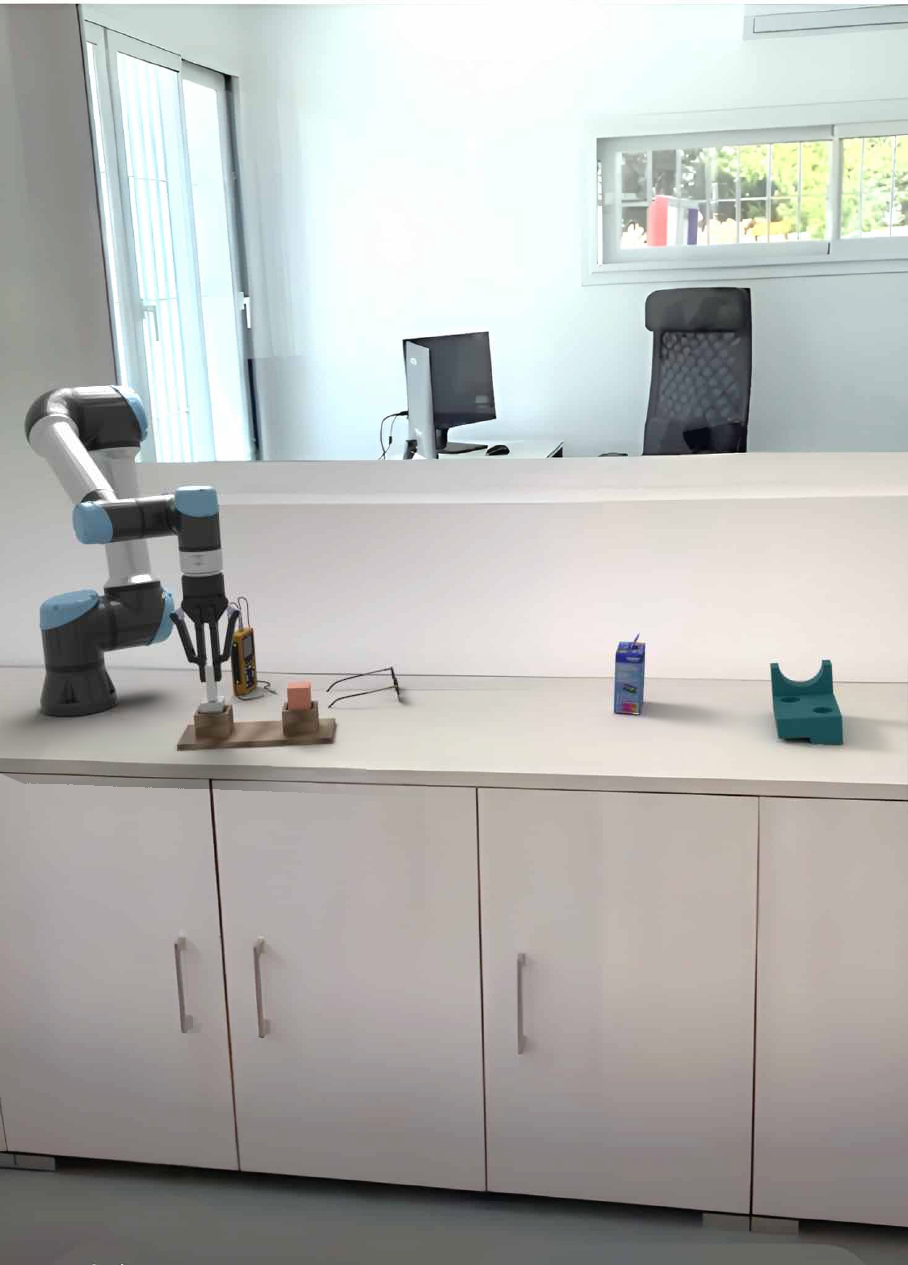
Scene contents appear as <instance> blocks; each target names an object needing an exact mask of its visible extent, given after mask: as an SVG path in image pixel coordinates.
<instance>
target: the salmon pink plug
mask: <svg viewBox="0 0 908 1265" xmlns="http://www.w3.org/2000/svg"><path fill="white" fill-rule="evenodd" d="M311 689H312V687H311V681H304V682H303V681H297V682H294V681H293V682H288V685H287V687H286V696H287V702H288V710H305V709H312V702H311V701H312V690H311Z"/></svg>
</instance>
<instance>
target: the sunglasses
mask: <svg viewBox="0 0 908 1265" xmlns="http://www.w3.org/2000/svg"><path fill="white" fill-rule="evenodd" d="M386 671H390V674H391V678H392V679H391V680H392V681H393V685H390V686H388V687H384V688H379V689H375V690H371V691H366V692H361V693H356V694H350V695H347V696H345V695H344V696H341V697H338V698H336V699H335V700H334V701H332V703H330V704H329V706H327V708H331V707H332V706H333V705H334V704H335V703H336V702H338V701H340V700H343V699H344V700H345V699H349V698H353V697H358V696H362V695H369V694H372V693H377V692H381V691H385V690H390V689H394V690H395V692H396V695H397V699H398V702H399V703H400V702H401V701H400V689H399V682H398V678H397V677H396V674H395V670H394V666H390V667H387V668H383V669H379V670H374V671H371V672H367V673H362V674H358V675H354V676H353V675H352V676H350V677H346V678H343V679H340V680H339V679H338V680H337V681H335V682H333V683H332V684H331V685H330V686H329V688H327V690H326V691H325V692H326V693H328V692H329V691H330V690H331V689H332V688H333V687H334V686H335V685H336V684H338V683H341V682H344V681H347V680H351V679H355V678H359V677H364V676H367V675H371V674H376V673H379V672H386Z"/></svg>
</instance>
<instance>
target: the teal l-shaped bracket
mask: <svg viewBox="0 0 908 1265" xmlns="http://www.w3.org/2000/svg"><path fill="white" fill-rule="evenodd" d="M779 665H780V664H779V663H778V662H772V663H771V662H770V664H769V667H770V680H771V681H770V682H771V684H770V685H771V694H772V695H771V696H772V697H771V698H772V709H773V716H774V722H775V727H776V728H775V729H776V732H777V737H778V738H777V739H781V740H782V739H800V738H801V739H802V738H804V739H805V738H808V739H809V738H810V739H809V741H810V742H811V743H813V744H812V745H818V744H824V745H841V744H844V731H843V729H844V728H843V716H842V712H841V710H840V707H839V704H838V702H837V699H836V696H835V694H834V680H833V677H834V676H833V663H832V661H831V659H822V660H821V666H820V668H819V670H818V672H817V673H816V675H814V676H813V677H811V678H810V679H808V680H804V681H796V680H791V679H790V678H788V677H787V676H785V675H784V674H783V673H782V671H781V669H780V666H779ZM811 743H810V744H811Z"/></svg>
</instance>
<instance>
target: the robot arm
mask: <svg viewBox="0 0 908 1265" xmlns="http://www.w3.org/2000/svg"><path fill="white" fill-rule="evenodd" d="M23 426H24V434H25V437H26V441H27V443H28V444H29V446H30V447H31V449H32V450H33V452H34V453H35V454H36V455H38V456H39V457H41V458H44V460H45V462H46V463H47V465H48V466H49V467H50V470H51V471H52V472H53V474H54V475H55V477H56V479H57V481H58V482H59V484H60V485H61V487H62V488H63V490H64V492H65V493H66V494H67V496H68V498H69V500H70V501H71V502H72V505H73V506H74V507H73V510H72V526H73V531H74V532H75V533H74V534H75V537H76V539H77V540H78V541H79V542H80V543H81V544H83V545H104V549H105V556H106V562H107V568H108V569H107V570H108V571H107V572H108V580H107V581H106V582H105V584H104V585H103V587H102V588H103V593H104V594H103V595H99V594H98V592H97V591H96V590H93V589H81V590H74V591H69V592H64V593H61V594H58V595H55V596H52V597H50V598H48V599H46V600H45V601H44V602H42V603H41V605H40V607H39V624H38V625H39V628H40V633H41V641H42V642H41V643H42V650H43V657H44V658H43V660H44V667H45V677H44V681H43V685H42V689H41V694H40V699H39V703H40V711H41V713H43V714H45V715H49V716H55V717H73V716H74V717H75V716H76V717H77V716H83V715H91V714H95V713H100V712H103V711H106V710H108V709H111V708H113V707H115V706H116V705H117V704H118V692H117V689H116V687H115V685H114V683H113V681H112V679H111V676H110V674H109V672H108V670H107V668H106V663H105V662H106V660H105V653H107V652H109V653H110V652H113V651H114V652H115V651H120V650H125V649H126V650H128V649H133V648H139V647H148V646H149V647H150V646H151V645H155V644H159V643H163V642H165V641H167V640H168V639H169V637H170V636H171V635H172V631H173V629H174V626H175V627H176V630H177V633H178V635H179V638H180V642H181V644H182V647H183V650H184V653H185V656H186V659H187V662H188V663H190V664H196V665H197V666H198V671H199V681H200V683H205V687H206V697H207V701H215V700H216V699H217V697H219V694H218V683H219V682H221V681H222V678H223V672H222V663H225V662H228V661H229V659H231V657H230V655H231V649H232V644H233V638H234V632H235V631H236V625H237V620H238V618H239V615H240V613H241V614H242V608H241V609H240V607H239V608H237V607H236V606H234V605H232V604H231V605H230V602H229V599H228V598H227V595H226V590H225V589H226V588H225V575H224V573H223V572H222V570H223V569H224V563H223V561H224V560H223V550H222V540H221V527H220V526H221V525H220V524H221V522H220V512H219V511H220V505H219V502H218V501H219V499H218V494H217V490H216V489H215V488H214V486H212V485H211V486H209V485H190V486H189V485H188V486H181V487H177V488H176V489H175V491H174V492H167V493H165V492H164V493H160V494H157V495H153V496H143V497H141V492H140V491H141V490H140V485H139V478H138V471H137V464H136V456H137V455H138V454H139V453H140V452H141V450H142V447H141V443H142V442H144V441H145V440H146V439H147V437H148V434H149V433H148V432H149V430H148V428H149V423H148V415H147V412H146V409H145V406H144V404H143V402H142V399H141V398H140V396H139V395H138V393H137V392H136V391H135V390H134V389H132V388H131V387H128V386H124V385H123V386H122V385H121V386H120V385H113V384H111V385H110V384H109V385H102V386H101V385H98V386H79V387H58V388H53V389H50V390H47V391H45V392H44V393H42V394H41V395H39V397H37V398H36V399H34V401H33V402H32V403H31V405H30V407H29V408H28V410H27V413H26V415H25V419H24V425H23ZM172 536H173V537H174V536H175V537H177V543H178V555H179V565H180V566H179V567H180V572H181V573H183V574H182V576H181V589H182V591H181V592H182V601H181V602H180V607H179V608H177V609H175V601H174V598H173V597H172V592H171V590H170V589H169V588H168V587H165V586H162V584H161V579H160V578H159V577H158V576H157V575H155V574H154V573H153V572H152V567H151V561H150V553H149V546H148V540H147V539H153V538H163V537H172ZM225 611H226V612H227V614H226V616H227V619H228V618H229V621H228V620H227V626H226V630H225V631H226V633H225V637H224V639H225V640H224V644H223V650H222V653H221V643H220V633H219V631H220V630H219V621H220V619H221V617H222V616H223V614H225ZM185 616H187V617H188V618H189V619H190V620H191V622H192V623H194V624H193V625H194V632H195V642H196V650H195V647H194V645H193V642H192V639H191V635H190V632H189V630H188V627H187V624H186V622H185ZM205 624H208V629H209V637H210V638H209V639H210V640H209V641H210V649H211V650H210V651H211V661H212V662H208V661H207V660H208V658H207V646H206V634H205V632H206V631H205Z"/></svg>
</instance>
